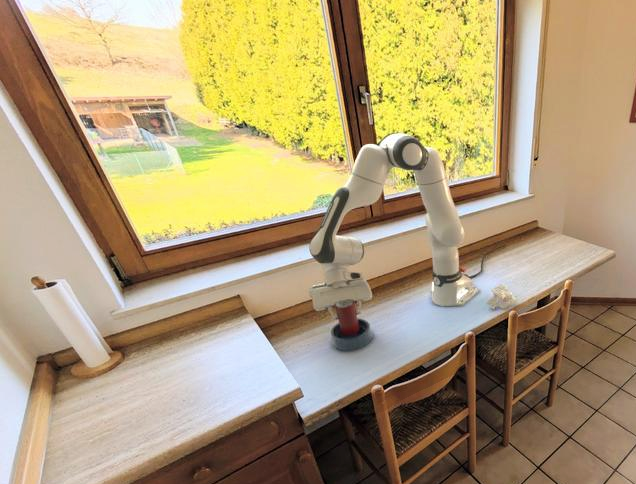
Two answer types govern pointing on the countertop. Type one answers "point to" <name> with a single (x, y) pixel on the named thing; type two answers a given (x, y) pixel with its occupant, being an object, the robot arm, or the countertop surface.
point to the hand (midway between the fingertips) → (347, 316)
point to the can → (347, 317)
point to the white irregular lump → (501, 298)
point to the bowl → (352, 337)
